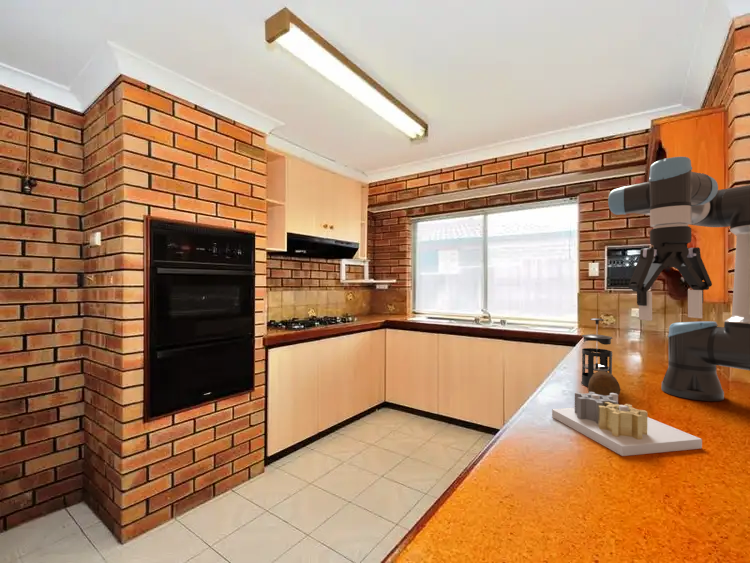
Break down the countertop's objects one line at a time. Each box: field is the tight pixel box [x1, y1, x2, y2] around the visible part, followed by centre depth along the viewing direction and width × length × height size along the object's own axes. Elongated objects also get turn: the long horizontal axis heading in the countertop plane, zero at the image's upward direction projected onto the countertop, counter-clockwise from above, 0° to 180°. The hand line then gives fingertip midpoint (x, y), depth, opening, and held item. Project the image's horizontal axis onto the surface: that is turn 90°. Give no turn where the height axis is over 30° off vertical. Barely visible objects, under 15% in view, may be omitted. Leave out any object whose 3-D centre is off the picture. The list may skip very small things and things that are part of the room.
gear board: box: [551, 391, 703, 457], centre depth 89 cm, size 20×22×8 cm
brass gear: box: [598, 402, 648, 440], centre depth 84 cm, size 9×9×5 cm
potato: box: [587, 371, 622, 397], centre depth 112 cm, size 8×12×9 cm
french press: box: [580, 317, 613, 388], centre depth 128 cm, size 12×9×23 cm
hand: (670, 319), depth 86 cm, fingers open, 13 cm apart
